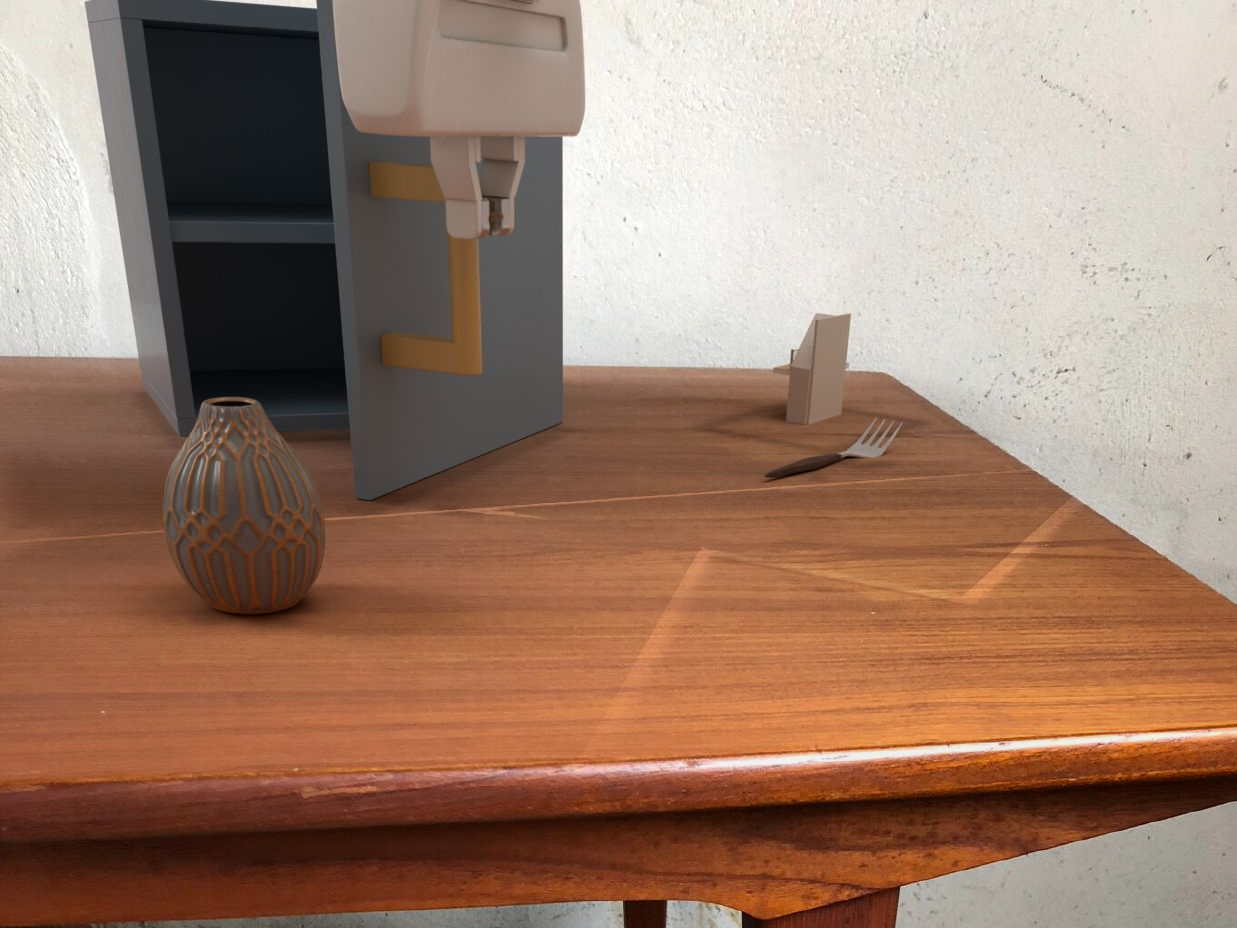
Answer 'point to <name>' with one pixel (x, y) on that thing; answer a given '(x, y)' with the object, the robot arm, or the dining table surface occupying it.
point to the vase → (243, 512)
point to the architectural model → (818, 370)
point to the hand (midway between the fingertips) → (481, 236)
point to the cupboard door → (439, 302)
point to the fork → (854, 450)
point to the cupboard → (224, 205)
